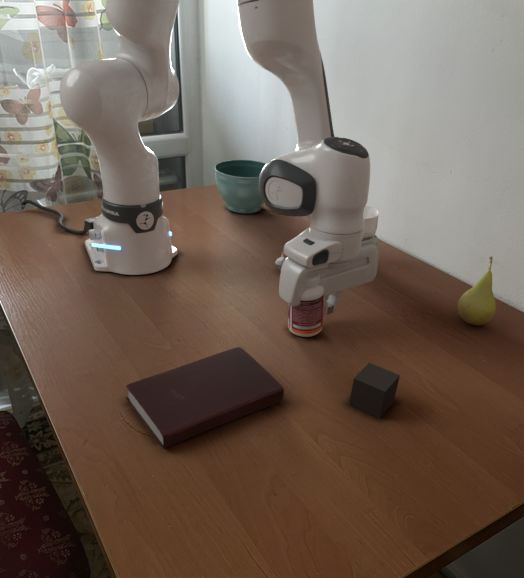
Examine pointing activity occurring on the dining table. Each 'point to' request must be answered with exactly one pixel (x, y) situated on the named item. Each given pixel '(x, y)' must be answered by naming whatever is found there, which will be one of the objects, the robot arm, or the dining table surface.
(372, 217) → the cup
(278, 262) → the figurine
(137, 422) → the dining table surface
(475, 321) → the fruit
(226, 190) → the flower pot
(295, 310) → the pill bottle
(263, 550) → the dining table surface
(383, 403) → the charcoal block
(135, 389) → the book
